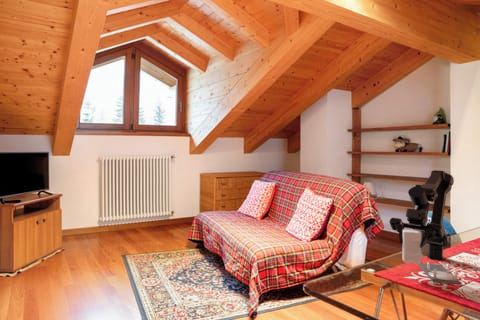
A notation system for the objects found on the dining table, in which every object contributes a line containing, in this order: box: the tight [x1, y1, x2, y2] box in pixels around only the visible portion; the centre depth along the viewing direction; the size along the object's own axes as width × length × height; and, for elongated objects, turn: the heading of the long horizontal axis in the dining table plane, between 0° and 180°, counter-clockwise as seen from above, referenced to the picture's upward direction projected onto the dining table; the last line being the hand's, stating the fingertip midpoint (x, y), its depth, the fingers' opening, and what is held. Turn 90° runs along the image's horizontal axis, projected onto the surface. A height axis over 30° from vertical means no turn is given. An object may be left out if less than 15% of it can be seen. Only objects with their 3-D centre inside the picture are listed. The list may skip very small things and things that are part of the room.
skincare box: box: [401, 229, 422, 264], centre depth 132 cm, size 6×4×12 cm
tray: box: [417, 261, 460, 285], centre depth 136 cm, size 18×9×5 cm, turn 168°
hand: (410, 245), depth 131 cm, fingers closed on skincare box, 7 cm apart
